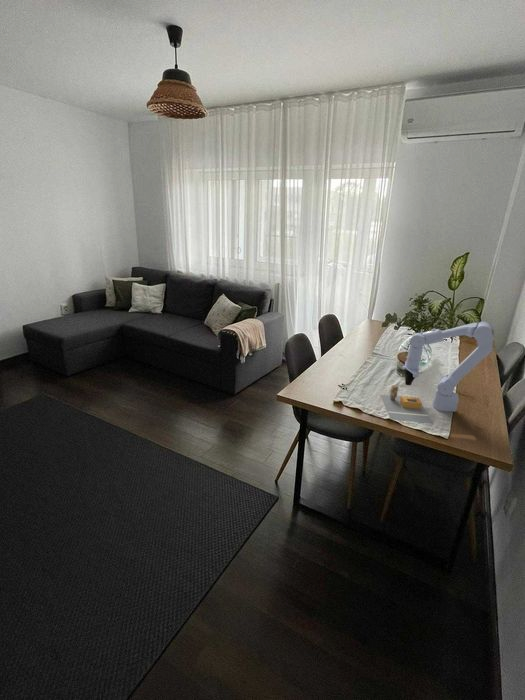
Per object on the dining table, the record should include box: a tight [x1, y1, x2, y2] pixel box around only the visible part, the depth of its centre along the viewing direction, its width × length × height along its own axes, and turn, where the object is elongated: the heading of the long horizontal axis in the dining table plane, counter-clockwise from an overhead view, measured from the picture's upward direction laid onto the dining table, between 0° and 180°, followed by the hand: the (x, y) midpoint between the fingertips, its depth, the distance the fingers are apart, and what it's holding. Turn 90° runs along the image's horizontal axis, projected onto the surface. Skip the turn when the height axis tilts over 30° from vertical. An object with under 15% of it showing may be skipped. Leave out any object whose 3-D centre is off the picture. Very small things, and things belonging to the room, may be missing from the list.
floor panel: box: [379, 394, 434, 425], centre depth 155 cm, size 18×22×1 cm
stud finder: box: [400, 395, 423, 409], centre depth 157 cm, size 8×5×3 cm, turn 83°
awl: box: [389, 384, 399, 401], centre depth 161 cm, size 3×3×7 cm
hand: (407, 384), depth 163 cm, fingers closed
